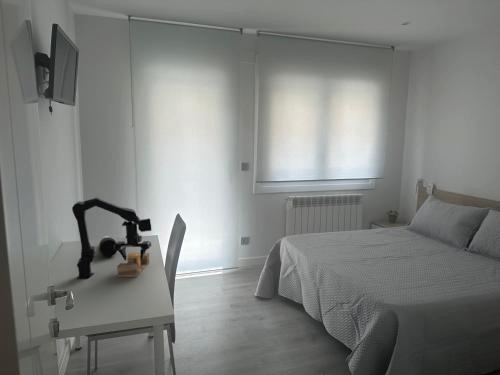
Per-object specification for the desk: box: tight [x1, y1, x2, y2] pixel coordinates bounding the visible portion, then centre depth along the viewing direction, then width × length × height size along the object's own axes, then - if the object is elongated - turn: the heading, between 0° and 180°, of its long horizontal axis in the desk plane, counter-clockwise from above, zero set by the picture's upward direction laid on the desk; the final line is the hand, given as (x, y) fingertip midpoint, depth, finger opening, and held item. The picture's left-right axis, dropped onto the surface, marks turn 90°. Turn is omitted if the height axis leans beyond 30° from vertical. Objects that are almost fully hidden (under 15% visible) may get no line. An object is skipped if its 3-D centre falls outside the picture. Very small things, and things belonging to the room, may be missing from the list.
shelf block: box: [116, 252, 150, 278], centre depth 192 cm, size 20×10×7 cm, turn 177°
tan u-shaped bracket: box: [126, 253, 141, 266], centre depth 192 cm, size 6×3×6 cm, turn 87°
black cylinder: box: [98, 235, 118, 258], centre depth 227 cm, size 10×34×10 cm, turn 23°
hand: (133, 260), depth 192 cm, fingers open, 9 cm apart
